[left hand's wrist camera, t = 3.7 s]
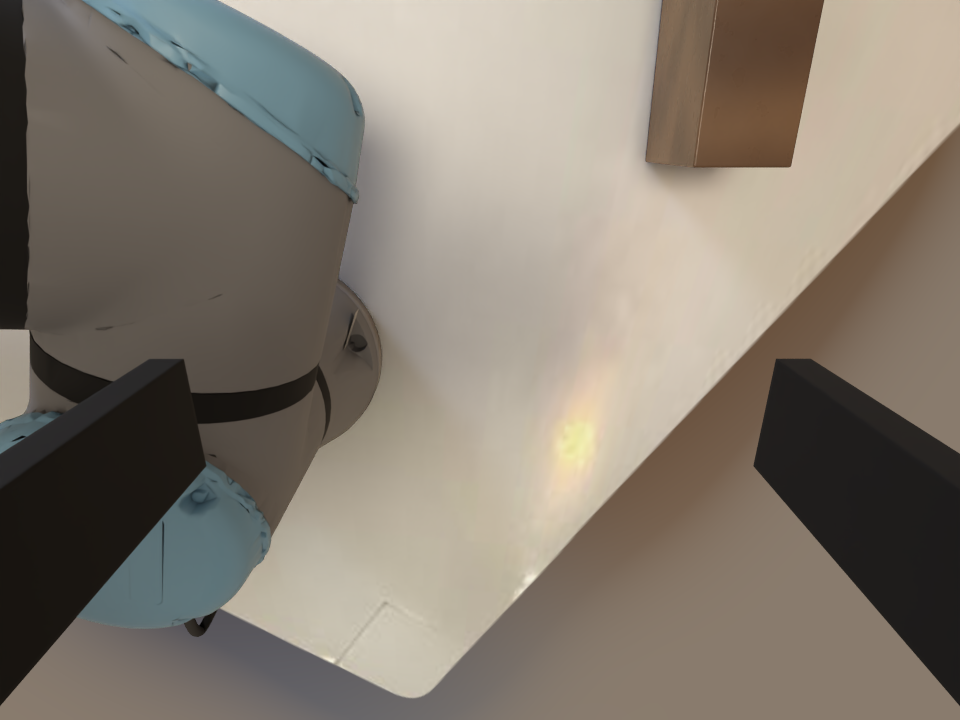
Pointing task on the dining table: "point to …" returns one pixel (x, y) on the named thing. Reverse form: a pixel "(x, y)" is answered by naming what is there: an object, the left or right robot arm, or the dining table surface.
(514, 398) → the dining table surface
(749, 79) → the bar
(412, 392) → the dining table surface
